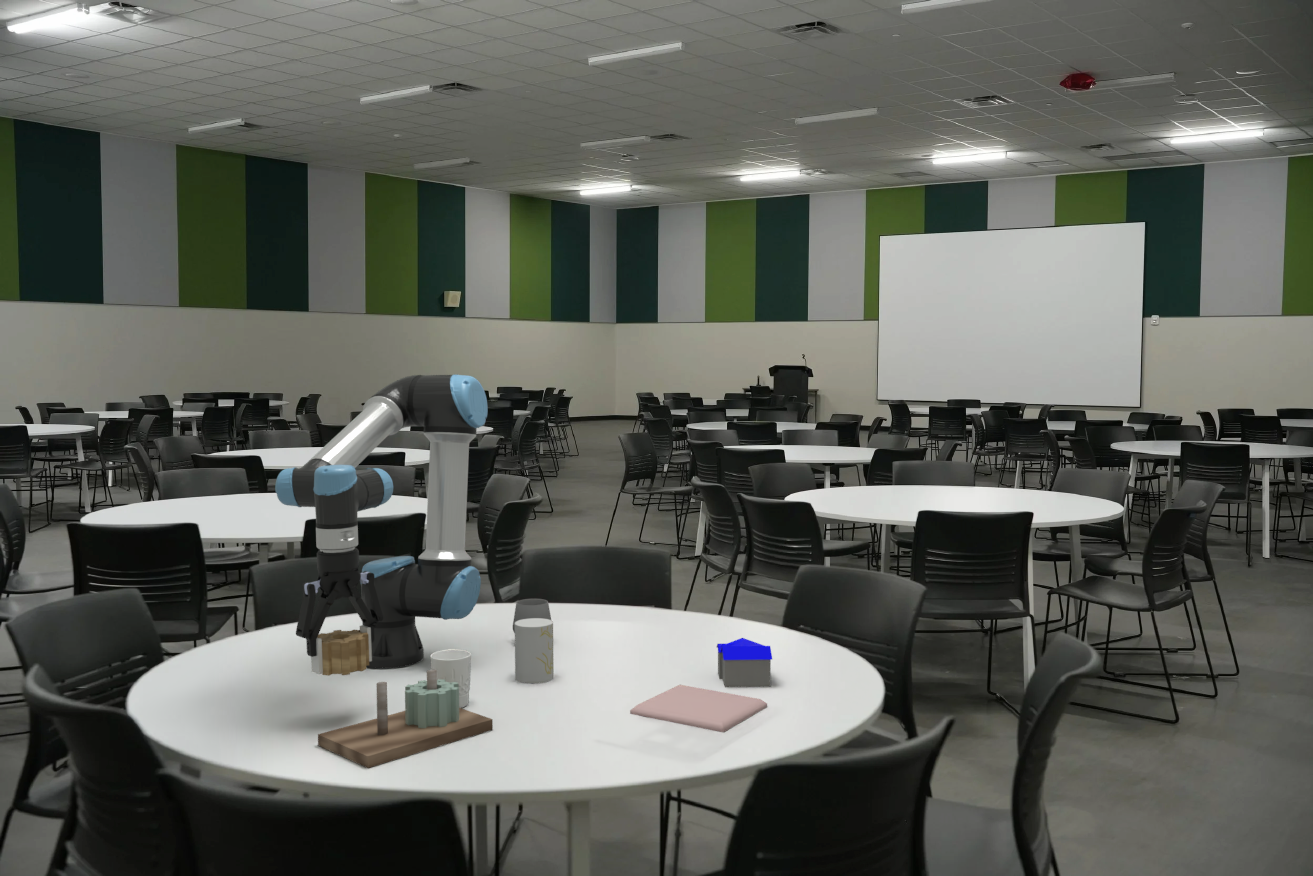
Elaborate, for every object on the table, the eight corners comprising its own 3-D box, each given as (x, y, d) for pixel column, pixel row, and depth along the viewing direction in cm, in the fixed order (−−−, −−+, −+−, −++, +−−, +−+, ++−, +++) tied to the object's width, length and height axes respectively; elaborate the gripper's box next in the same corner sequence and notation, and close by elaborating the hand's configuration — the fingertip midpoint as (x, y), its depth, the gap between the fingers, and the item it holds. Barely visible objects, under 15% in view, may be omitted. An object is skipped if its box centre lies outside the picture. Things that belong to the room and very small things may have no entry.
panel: (643, 686, 230) (643, 675, 230) (787, 712, 212) (787, 701, 212) (538, 733, 201) (538, 721, 201) (695, 769, 183) (695, 755, 183)
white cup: (433, 699, 219) (432, 649, 219) (473, 698, 220) (472, 648, 219) (428, 711, 212) (427, 660, 211) (470, 710, 212) (469, 659, 212)
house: (716, 674, 237) (716, 638, 237) (765, 673, 237) (765, 637, 237) (720, 688, 227) (720, 650, 226) (772, 687, 227) (772, 650, 226)
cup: (560, 641, 265) (559, 600, 264) (535, 650, 257) (535, 608, 256) (529, 636, 270) (529, 596, 269) (504, 644, 262) (504, 603, 261)
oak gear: (305, 668, 206) (304, 637, 205) (351, 657, 213) (350, 626, 212) (332, 678, 199) (331, 646, 199) (378, 667, 206) (377, 635, 206)
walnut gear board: (318, 745, 193) (316, 683, 192) (440, 711, 212) (439, 655, 211) (367, 768, 182) (366, 703, 181) (492, 730, 201) (491, 670, 200)
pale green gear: (394, 722, 199) (393, 689, 199) (432, 708, 207) (431, 676, 207) (432, 731, 194) (432, 698, 193) (470, 716, 202) (469, 684, 201)
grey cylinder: (547, 684, 229) (546, 628, 228) (509, 682, 231) (509, 626, 230) (558, 674, 237) (557, 619, 236) (522, 672, 239) (521, 617, 238)
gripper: (292, 560, 193) (297, 684, 195) (400, 542, 209) (404, 657, 211) (271, 555, 198) (276, 675, 200) (378, 537, 214) (382, 649, 217)
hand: (342, 666), depth 206 cm, fingers closed on oak gear, 10 cm apart
